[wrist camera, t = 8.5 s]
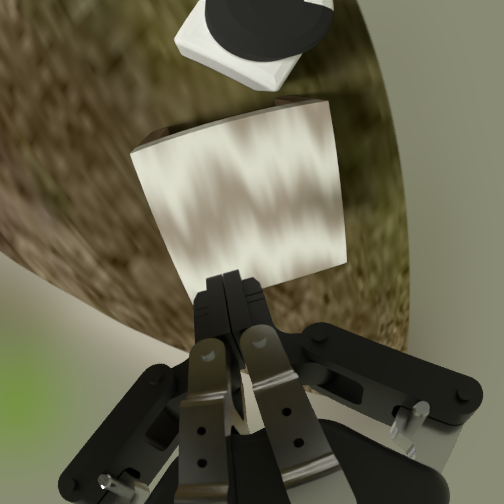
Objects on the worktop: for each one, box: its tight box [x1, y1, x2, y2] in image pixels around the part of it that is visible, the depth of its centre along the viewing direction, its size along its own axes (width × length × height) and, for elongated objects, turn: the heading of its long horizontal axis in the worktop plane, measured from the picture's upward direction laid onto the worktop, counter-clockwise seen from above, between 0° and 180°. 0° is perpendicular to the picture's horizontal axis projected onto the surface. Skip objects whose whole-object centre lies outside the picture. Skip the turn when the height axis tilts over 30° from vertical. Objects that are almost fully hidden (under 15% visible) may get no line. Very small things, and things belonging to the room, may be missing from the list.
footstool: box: [130, 95, 347, 303], centre depth 22 cm, size 12×8×12 cm
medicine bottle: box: [174, 0, 334, 92], centre depth 14 cm, size 7×7×12 cm
